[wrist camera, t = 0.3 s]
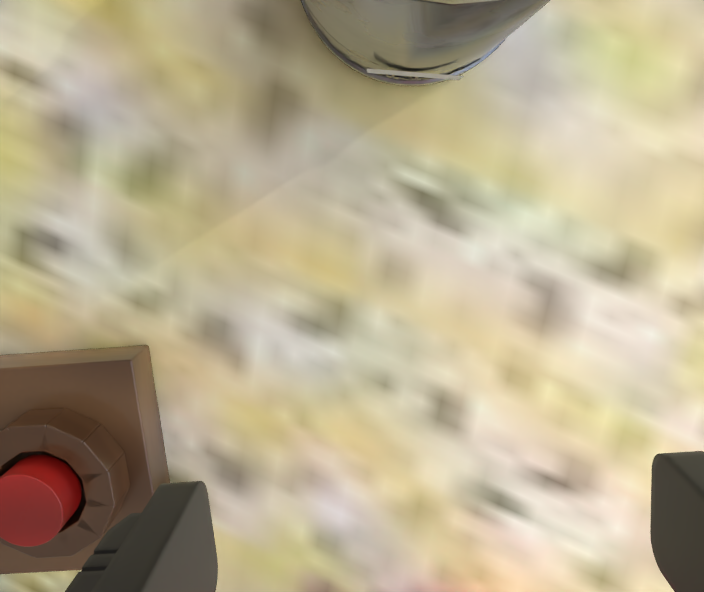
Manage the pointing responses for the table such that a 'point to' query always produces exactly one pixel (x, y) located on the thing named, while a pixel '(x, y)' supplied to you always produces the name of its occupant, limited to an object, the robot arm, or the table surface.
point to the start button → (37, 500)
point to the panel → (83, 441)
